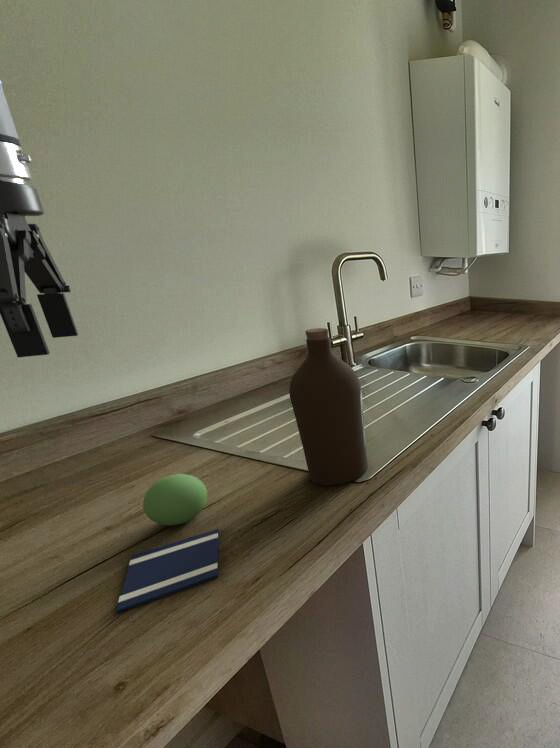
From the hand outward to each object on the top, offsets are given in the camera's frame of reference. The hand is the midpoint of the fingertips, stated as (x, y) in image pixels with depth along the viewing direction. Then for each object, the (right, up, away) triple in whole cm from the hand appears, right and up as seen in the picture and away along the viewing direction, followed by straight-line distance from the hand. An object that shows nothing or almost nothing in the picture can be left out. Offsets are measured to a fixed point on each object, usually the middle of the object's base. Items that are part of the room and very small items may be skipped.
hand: (51, 345), depth 58 cm
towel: (+24, -28, -8) cm, 38 cm away
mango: (+19, -22, -1) cm, 29 cm away
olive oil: (+36, -21, +13) cm, 44 cm away
